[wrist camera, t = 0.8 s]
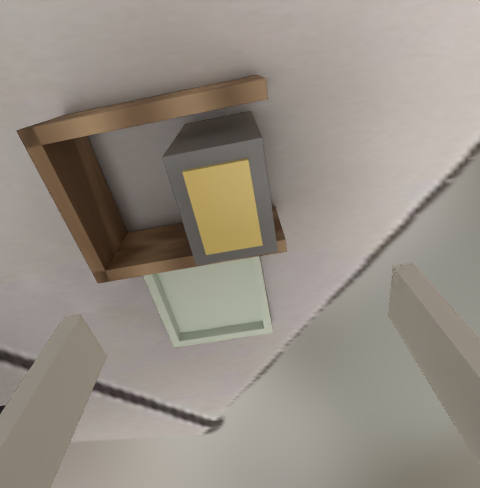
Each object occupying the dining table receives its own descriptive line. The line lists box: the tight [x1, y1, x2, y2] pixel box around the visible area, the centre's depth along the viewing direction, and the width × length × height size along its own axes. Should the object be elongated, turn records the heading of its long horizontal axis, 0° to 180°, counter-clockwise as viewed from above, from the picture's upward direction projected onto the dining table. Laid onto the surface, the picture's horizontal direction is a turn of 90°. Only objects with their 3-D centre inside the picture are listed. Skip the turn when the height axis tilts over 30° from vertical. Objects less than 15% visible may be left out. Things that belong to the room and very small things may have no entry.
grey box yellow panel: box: [162, 111, 278, 266], centre depth 25 cm, size 6×8×11 cm
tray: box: [143, 256, 273, 348], centre depth 37 cm, size 13×14×2 cm
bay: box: [17, 75, 287, 283], centre depth 27 cm, size 17×13×7 cm
